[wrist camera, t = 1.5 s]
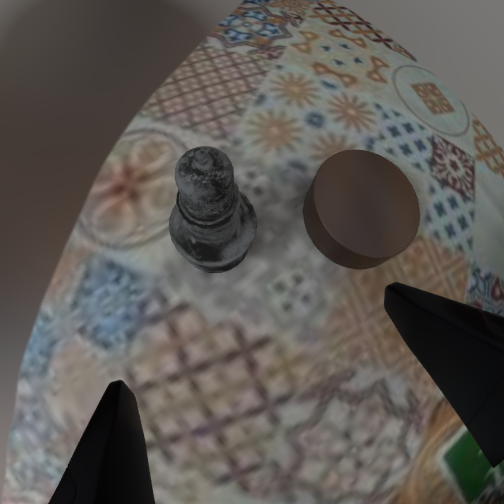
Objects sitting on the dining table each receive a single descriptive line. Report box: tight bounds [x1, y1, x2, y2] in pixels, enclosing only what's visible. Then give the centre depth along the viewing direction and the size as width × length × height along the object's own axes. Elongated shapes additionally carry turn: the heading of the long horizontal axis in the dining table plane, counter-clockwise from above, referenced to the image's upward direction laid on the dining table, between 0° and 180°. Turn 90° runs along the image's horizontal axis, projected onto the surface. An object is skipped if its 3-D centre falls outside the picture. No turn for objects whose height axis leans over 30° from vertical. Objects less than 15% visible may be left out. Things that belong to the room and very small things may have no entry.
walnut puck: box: [303, 150, 420, 269], centre depth 24 cm, size 9×9×4 cm
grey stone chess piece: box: [169, 146, 257, 273], centre depth 18 cm, size 6×6×12 cm
